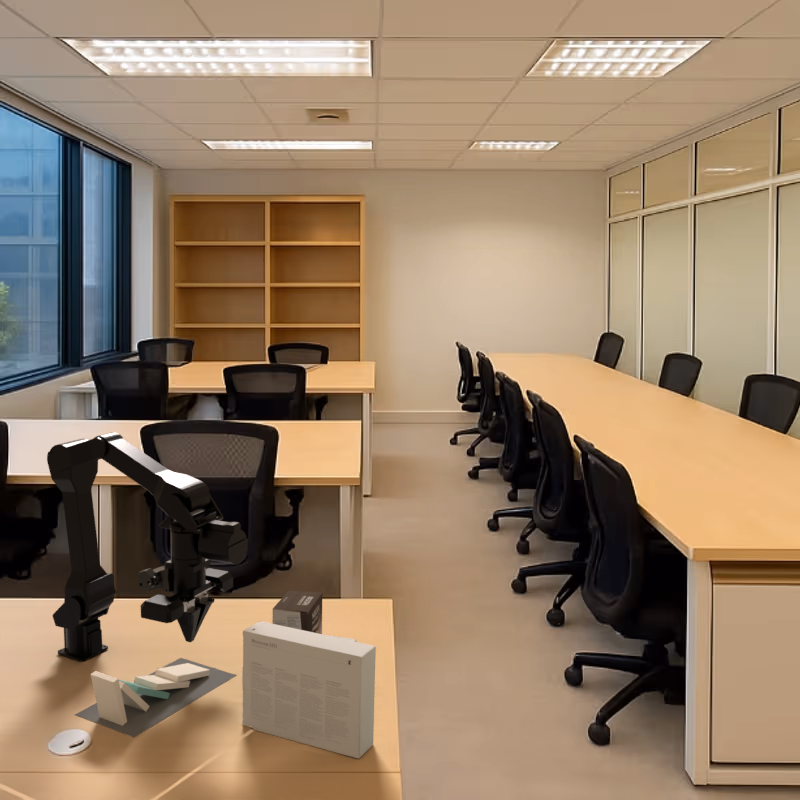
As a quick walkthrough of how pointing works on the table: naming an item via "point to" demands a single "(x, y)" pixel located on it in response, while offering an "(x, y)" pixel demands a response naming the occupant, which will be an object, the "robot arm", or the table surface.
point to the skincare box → (309, 688)
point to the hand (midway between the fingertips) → (189, 641)
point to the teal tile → (146, 690)
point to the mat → (161, 702)
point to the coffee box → (299, 611)
